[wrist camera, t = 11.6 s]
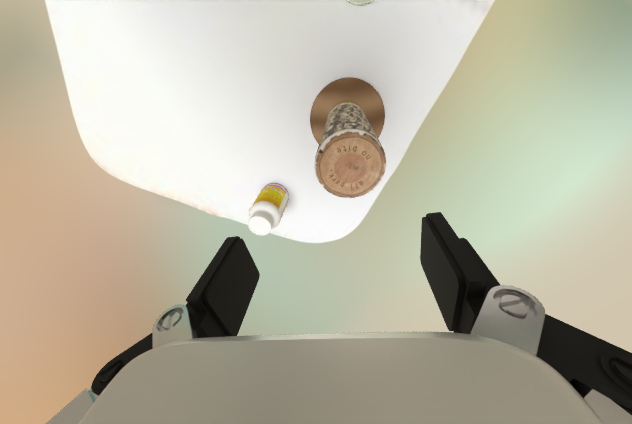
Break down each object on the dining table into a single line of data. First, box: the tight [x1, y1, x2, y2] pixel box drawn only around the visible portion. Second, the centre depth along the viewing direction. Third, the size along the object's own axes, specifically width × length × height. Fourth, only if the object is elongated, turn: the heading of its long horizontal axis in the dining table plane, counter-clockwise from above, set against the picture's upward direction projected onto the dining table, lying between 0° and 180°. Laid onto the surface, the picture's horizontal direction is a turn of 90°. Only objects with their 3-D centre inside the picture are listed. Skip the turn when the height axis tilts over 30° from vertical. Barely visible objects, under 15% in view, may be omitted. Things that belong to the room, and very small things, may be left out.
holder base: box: [310, 78, 385, 144], centre depth 37 cm, size 14×14×17 cm
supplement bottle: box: [248, 184, 289, 235], centre depth 49 cm, size 7×7×13 cm
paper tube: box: [315, 101, 386, 198], centre depth 32 cm, size 7×7×25 cm
